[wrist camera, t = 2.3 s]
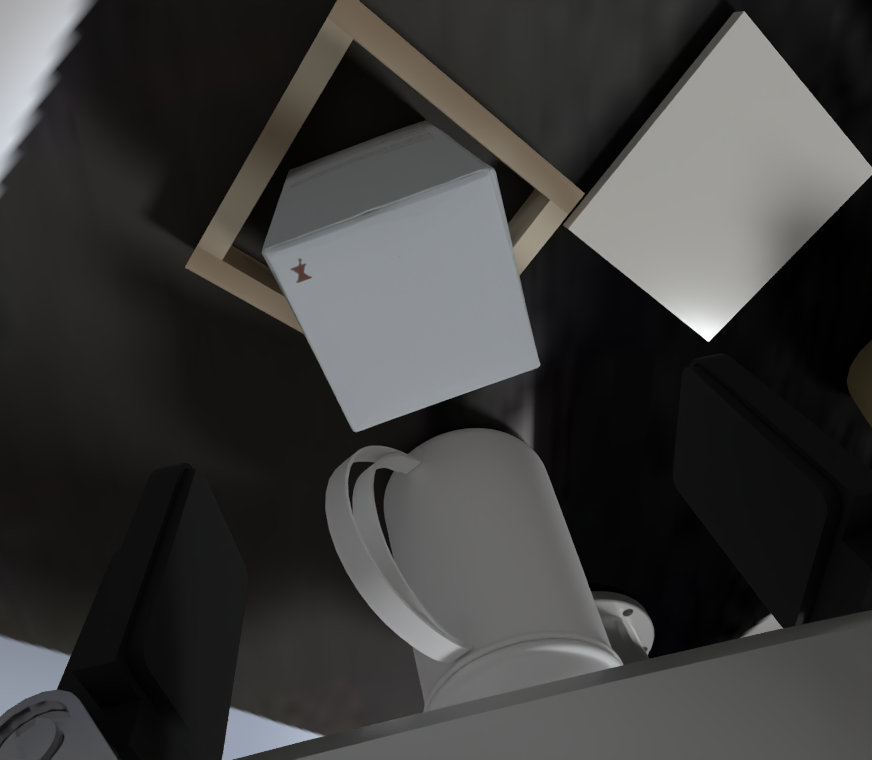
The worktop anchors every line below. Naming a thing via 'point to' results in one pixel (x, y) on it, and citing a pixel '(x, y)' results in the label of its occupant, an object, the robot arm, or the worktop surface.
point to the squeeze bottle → (862, 381)
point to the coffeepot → (470, 565)
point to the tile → (721, 182)
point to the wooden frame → (324, 55)
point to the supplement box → (401, 273)
